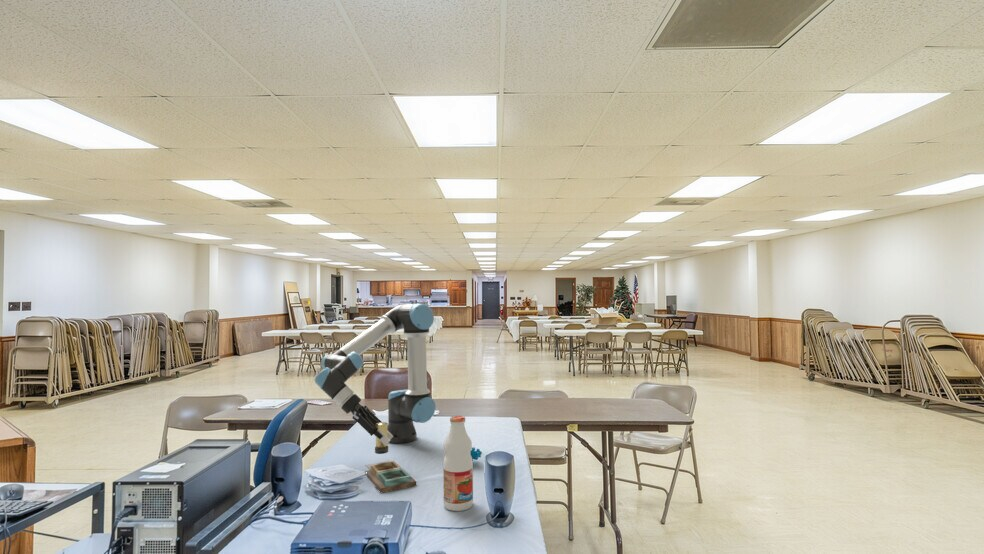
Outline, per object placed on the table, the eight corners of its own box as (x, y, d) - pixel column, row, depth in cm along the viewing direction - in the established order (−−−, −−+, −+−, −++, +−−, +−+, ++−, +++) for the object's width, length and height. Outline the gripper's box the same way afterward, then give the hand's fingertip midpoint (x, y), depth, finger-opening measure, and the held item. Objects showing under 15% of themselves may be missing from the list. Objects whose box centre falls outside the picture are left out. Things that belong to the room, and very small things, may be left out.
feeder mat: (389, 462, 195) (389, 460, 195) (396, 468, 187) (396, 467, 187) (364, 466, 190) (364, 465, 190) (371, 473, 182) (371, 472, 182)
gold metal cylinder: (386, 448, 192) (386, 421, 193) (389, 452, 188) (389, 424, 188) (373, 450, 190) (373, 423, 190) (376, 454, 185) (376, 426, 186)
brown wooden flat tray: (398, 468, 187) (398, 459, 187) (416, 485, 170) (416, 475, 170) (365, 475, 181) (365, 465, 181) (380, 493, 163) (380, 482, 163)
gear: (483, 456, 196) (479, 444, 189) (484, 470, 192) (480, 458, 185) (456, 460, 196) (452, 448, 190) (457, 474, 192) (452, 462, 185)
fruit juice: (451, 497, 159) (451, 412, 160) (477, 501, 155) (476, 414, 157) (438, 509, 150) (437, 419, 151) (465, 513, 146) (464, 421, 148)
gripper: (347, 402, 198) (387, 441, 198) (333, 412, 181) (377, 455, 180) (360, 388, 199) (400, 427, 198) (347, 398, 181) (391, 440, 180)
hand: (389, 440), depth 189 cm, fingers closed on gold metal cylinder, 5 cm apart
